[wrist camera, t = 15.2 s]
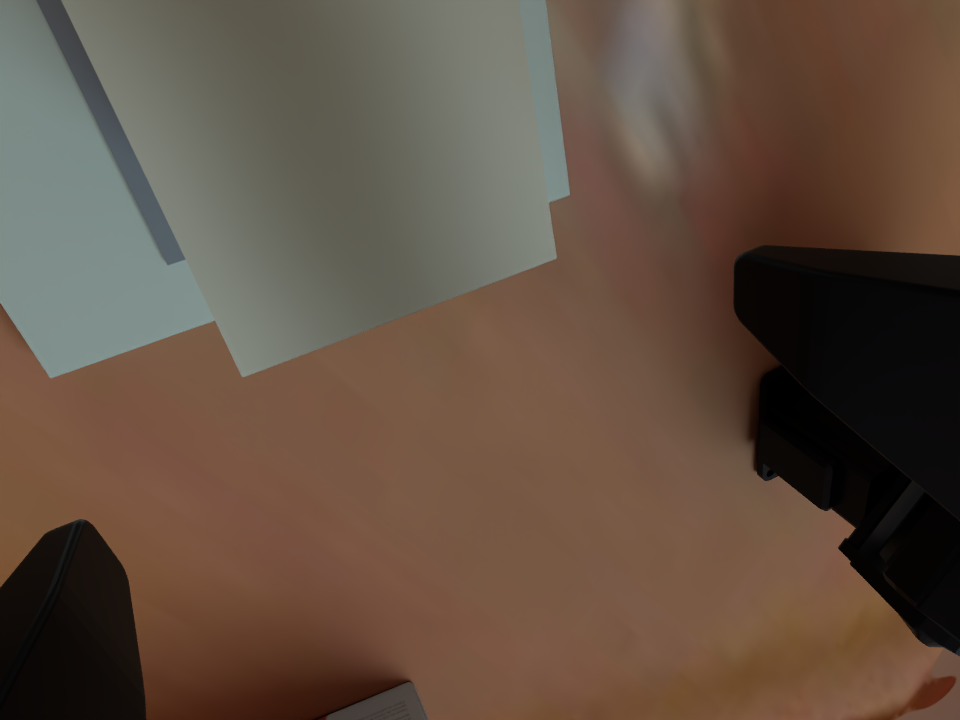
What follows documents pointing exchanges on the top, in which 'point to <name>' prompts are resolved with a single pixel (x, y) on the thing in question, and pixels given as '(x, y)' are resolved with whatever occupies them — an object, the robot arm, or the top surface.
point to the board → (120, 197)
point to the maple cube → (328, 154)
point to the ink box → (385, 706)
